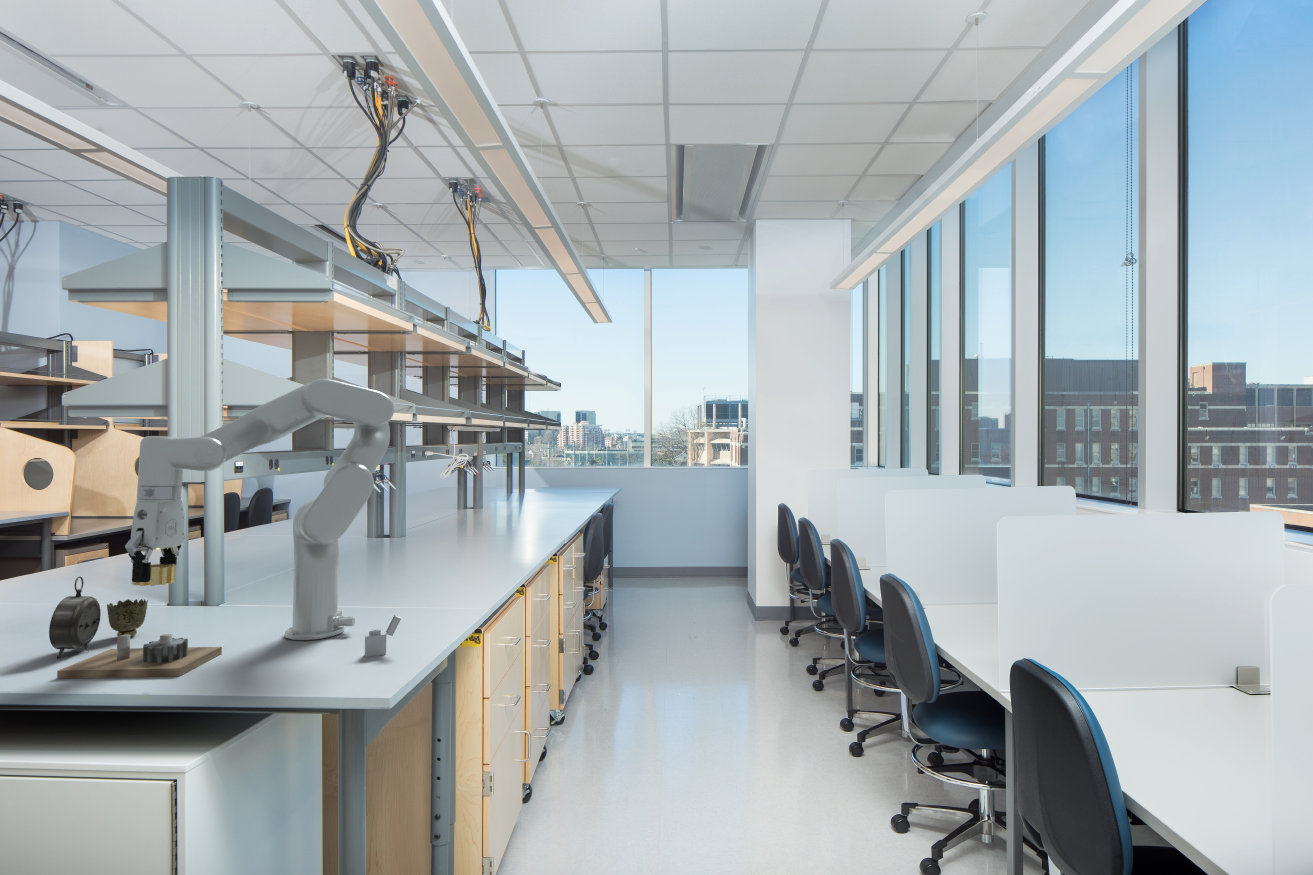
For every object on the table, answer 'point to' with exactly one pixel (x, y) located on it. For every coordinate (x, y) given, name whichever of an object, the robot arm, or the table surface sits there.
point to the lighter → (379, 639)
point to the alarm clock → (74, 622)
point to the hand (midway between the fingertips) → (154, 577)
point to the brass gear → (160, 575)
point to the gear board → (142, 660)
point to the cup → (127, 616)
